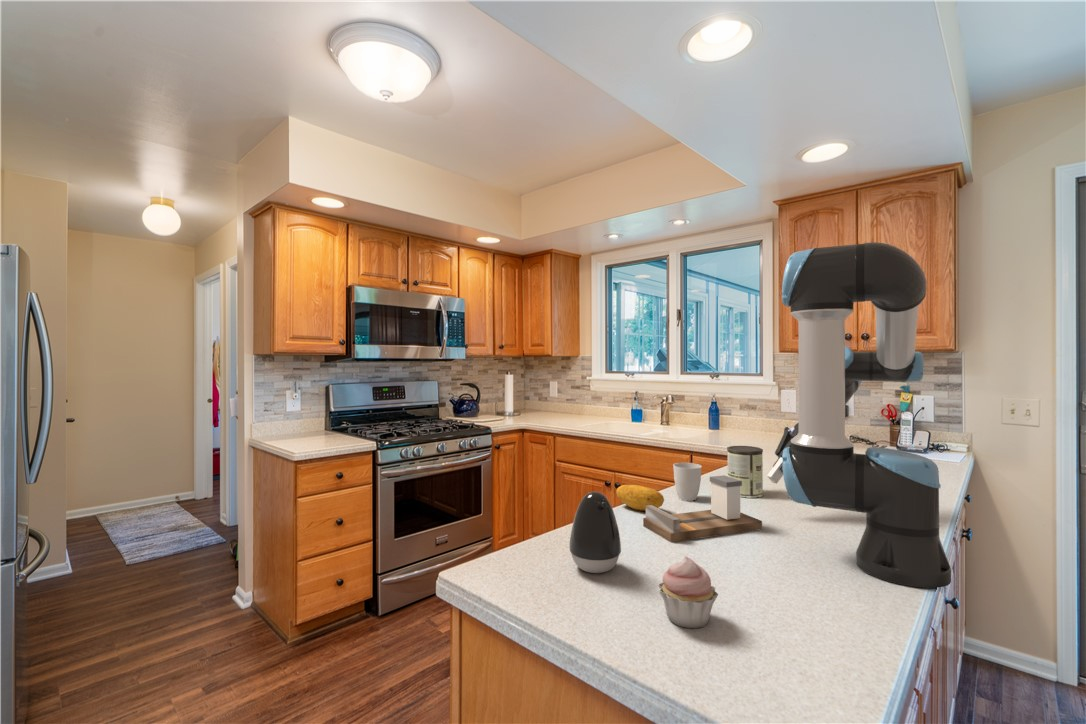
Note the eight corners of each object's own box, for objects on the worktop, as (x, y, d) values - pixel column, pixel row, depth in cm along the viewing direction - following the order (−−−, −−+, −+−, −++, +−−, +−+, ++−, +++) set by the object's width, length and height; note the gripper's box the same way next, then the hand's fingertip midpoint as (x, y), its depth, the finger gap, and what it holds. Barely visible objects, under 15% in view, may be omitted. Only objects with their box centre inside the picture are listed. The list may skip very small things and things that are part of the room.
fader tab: (724, 510, 131) (724, 475, 131) (741, 518, 125) (741, 480, 125) (709, 512, 129) (709, 476, 129) (726, 520, 123) (726, 482, 123)
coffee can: (730, 488, 163) (730, 444, 163) (765, 492, 158) (765, 447, 158) (723, 495, 154) (723, 449, 154) (759, 500, 149) (759, 452, 149)
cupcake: (681, 599, 87) (681, 541, 87) (729, 621, 80) (729, 558, 80) (644, 615, 82) (644, 554, 82) (693, 641, 74) (692, 573, 74)
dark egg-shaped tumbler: (579, 582, 94) (579, 501, 94) (563, 561, 104) (562, 487, 104) (630, 576, 97) (630, 497, 97) (608, 555, 107) (608, 484, 107)
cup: (698, 495, 154) (698, 462, 154) (704, 503, 146) (704, 468, 146) (671, 495, 155) (671, 462, 155) (675, 502, 147) (675, 468, 147)
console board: (728, 515, 135) (728, 496, 135) (762, 529, 123) (762, 508, 123) (643, 525, 126) (643, 505, 126) (670, 542, 115) (670, 520, 115)
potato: (652, 517, 133) (652, 492, 132) (611, 507, 142) (611, 483, 142) (669, 511, 138) (669, 486, 138) (628, 501, 148) (628, 478, 148)
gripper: (848, 425, 133) (799, 495, 128) (808, 420, 145) (761, 483, 140) (833, 406, 131) (782, 476, 126) (793, 402, 144) (746, 465, 138)
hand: (771, 479), depth 133 cm, fingers closed
